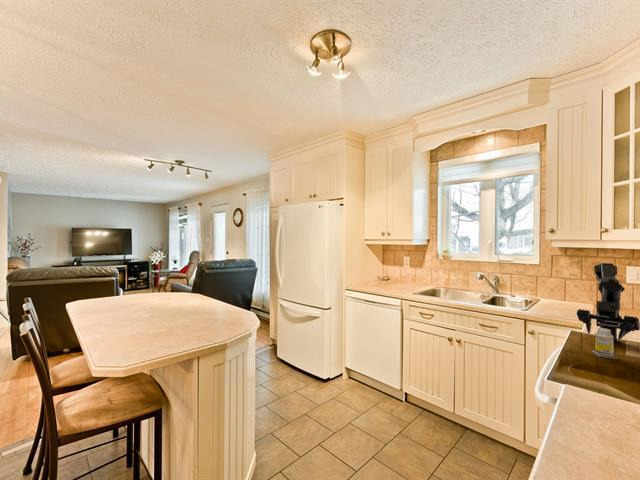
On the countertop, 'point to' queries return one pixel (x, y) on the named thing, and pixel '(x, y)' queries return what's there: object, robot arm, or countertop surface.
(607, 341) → the supplement bottle
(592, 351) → the slate coaster
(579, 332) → the countertop surface
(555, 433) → the countertop surface
